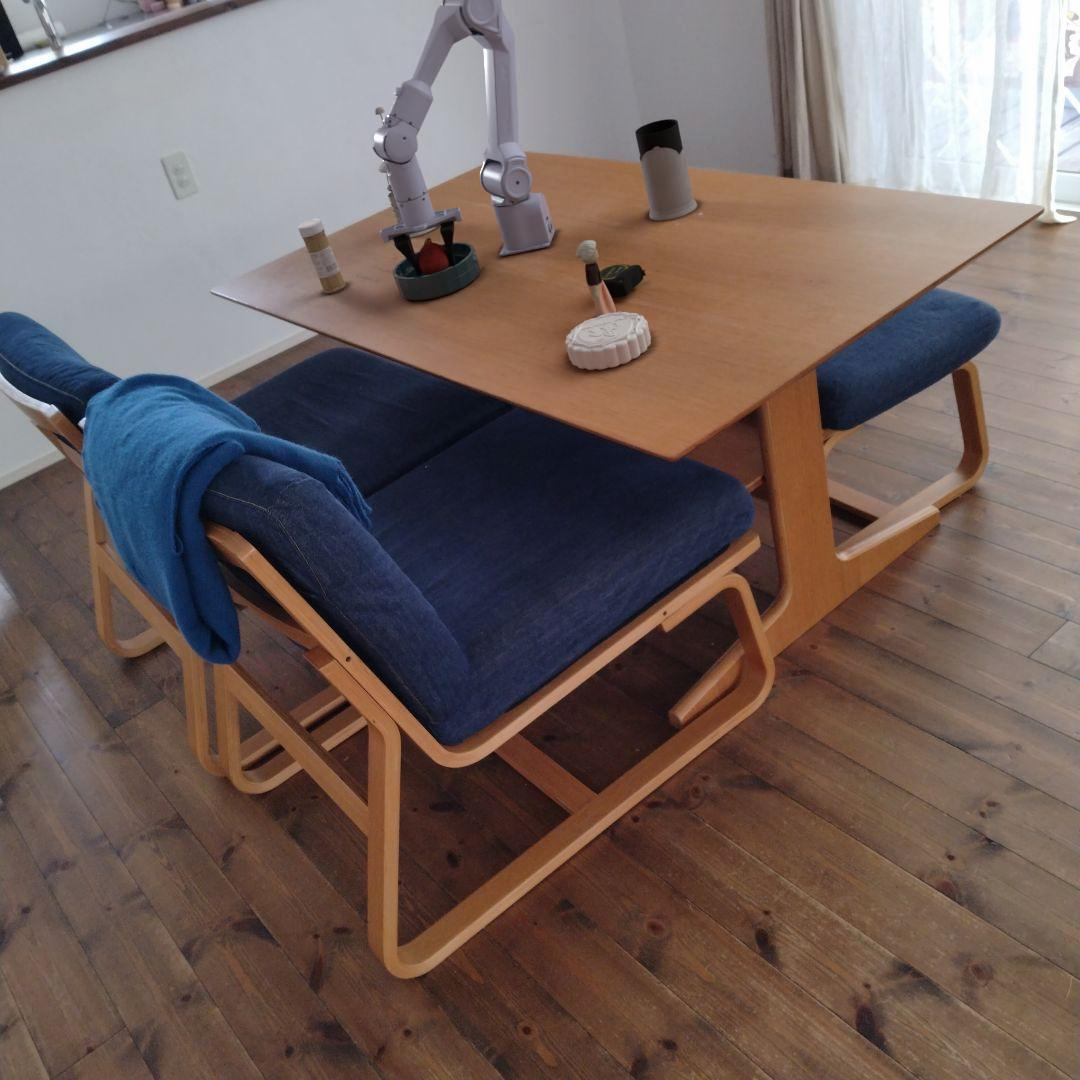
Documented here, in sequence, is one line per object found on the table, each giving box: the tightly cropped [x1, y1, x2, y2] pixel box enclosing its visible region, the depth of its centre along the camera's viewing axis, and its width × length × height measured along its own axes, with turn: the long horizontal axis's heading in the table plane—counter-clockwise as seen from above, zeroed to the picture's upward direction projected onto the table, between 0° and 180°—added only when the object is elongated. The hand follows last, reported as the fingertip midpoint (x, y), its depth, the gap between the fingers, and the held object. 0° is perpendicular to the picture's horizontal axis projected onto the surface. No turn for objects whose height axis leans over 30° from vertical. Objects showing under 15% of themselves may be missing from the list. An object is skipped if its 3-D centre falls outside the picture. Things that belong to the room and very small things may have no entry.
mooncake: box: [565, 311, 652, 371], centre depth 157 cm, size 12×12×4 cm
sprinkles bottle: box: [297, 218, 346, 294], centre depth 209 cm, size 5×5×14 cm
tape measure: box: [600, 263, 646, 300], centre depth 173 cm, size 7×7×4 cm
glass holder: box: [634, 118, 698, 221], centre depth 197 cm, size 9×14×15 cm, turn 167°
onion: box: [418, 237, 450, 275], centre depth 197 cm, size 6×6×8 cm
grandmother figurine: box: [575, 239, 617, 318], centre depth 164 cm, size 8×4×13 cm, turn 12°
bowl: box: [392, 241, 482, 301], centre depth 199 cm, size 15×15×4 cm
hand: (436, 268), depth 198 cm, fingers closed on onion, 6 cm apart
